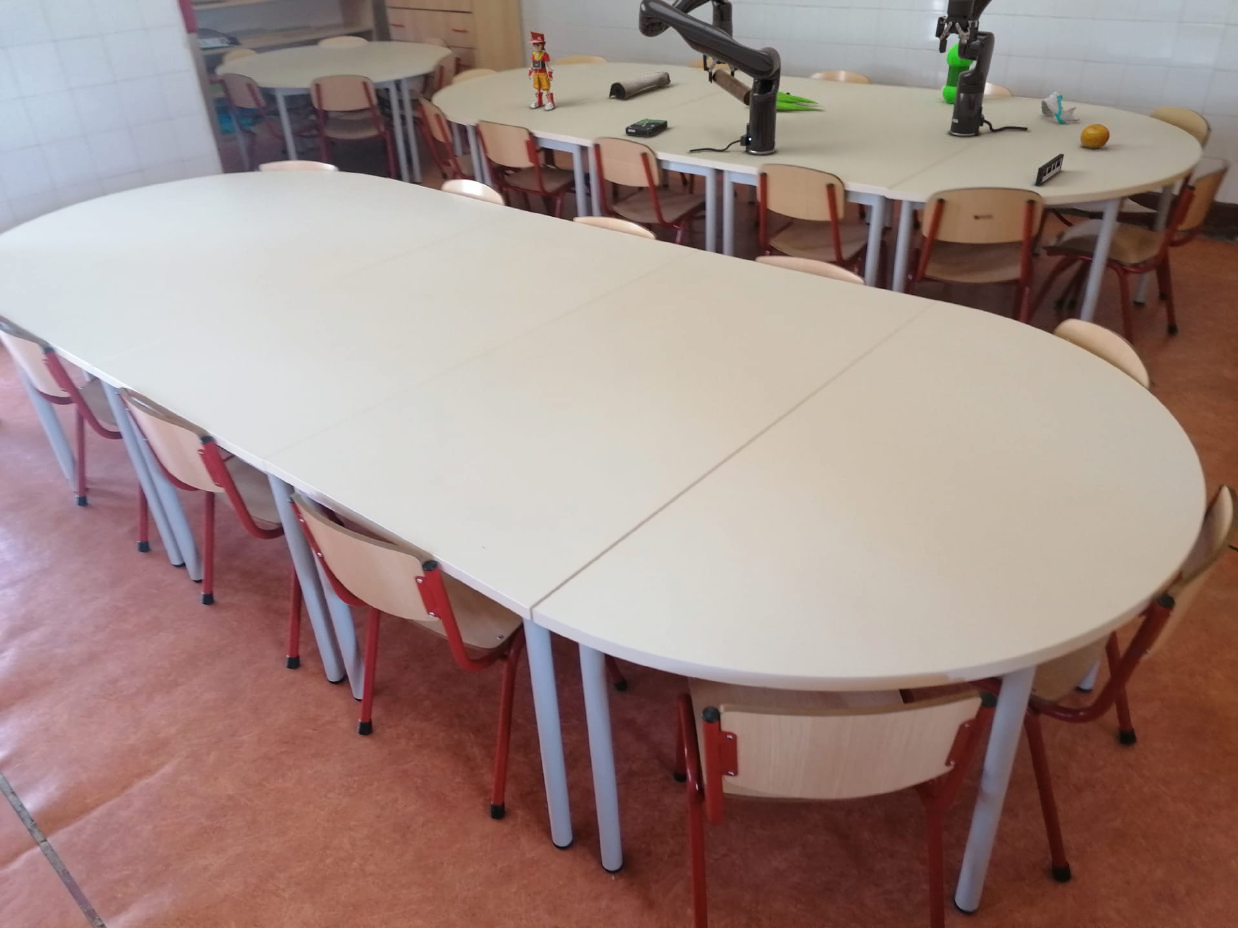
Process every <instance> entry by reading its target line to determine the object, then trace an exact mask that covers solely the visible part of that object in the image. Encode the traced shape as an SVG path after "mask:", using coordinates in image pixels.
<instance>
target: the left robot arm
mask: <svg viewBox="0 0 1238 928" xmlns="http://www.w3.org/2000/svg"><path fill="white" fill-rule="evenodd" d="M710 2H711V7H712V23H708V22H706V21H703V20H702V19H699V18H697V17H694V16H693V15H690V13H691V12H692V11H695V10H696V9H698V8H699V7H702V6H704V5H706V4H707V3H710ZM733 25H734V24H733V3H732V2H731V1H730V0H674V1H673V2H672V4H670V3H668V2H667V1H665V0H641V1H640V4H639V11H638V31H639V32H640V34H641V35H643V36H644V37H647V38H656V37H658V36H661V35H662V34H663V33H664V32H666V31H667V30H668V29H670V28H672V29H674V30H675V32H677V33H678V35H680V37H681V38H682V40H683V41H684V42H685V44H687V46H689V47H690V48H691V49H692V50H693V51H696V53H699V54H702V63H703V64H702V67H703V71H704V72H708V73H707V74H708V82H710V84H713V79H712V76H713V70H714V68H715V66H717V65H727V66H728V67H729V69H730V75H732V76H733V77H735V72H736V71H740V72H742V73H744V74H746V75H748V76H749V77H750V78H752V80H753V81H752V85H751V91H750V105H749V106H748V107H749V109H748V122H747V123H746V124H745V125H746V127H745V129H746V130H745V132H746V133H745V134H743V135H741V136H740V139H737V140H734V141H732V142H730V143H729V144H728V145H727V146H726V147H725V148H722V149H719V148H713V147H701V148H694V149H689V153H695V152H701V151H714V152H719V153H720V152H725V151H727V150H728V149H729V148H730V147H731V146H733V145H735V144H737V143H740V144H739V146H740V147H745V152H746V153H749V154H751V155H757V156H761V155H762V156H765V155H771V154H773V153H775V152H776V146H777V141H776V131H777V110H778V109H777V94H778V92H779V91H780V83H781V71H782V59H781V54H780V53H779V52H778V50H777V49H775V48H774V47H772V46H764V47H762V48H760V49H755V48H752V47H749V46H746V45H744V44H741V43H740V42H739V41H737V40H735V39H734V37H733V35H734V34H733V33H734V26H733ZM709 58H711V60H712V62H711V63H710V65H709V66H708V61H707V60H709Z"/></svg>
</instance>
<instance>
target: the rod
mask: <svg viewBox="0 0 1238 928" xmlns="http://www.w3.org/2000/svg"><path fill="white" fill-rule="evenodd" d="M712 83H714V84H715V85H716V86H718V87H719V88H721V89H722V90H724V91H725V92H727V93H728V94H729V95H731V96H732V97H734V98H735V99H737V100H738V101H739V102H741V103H742V104H743V105H745V106H747V107H749V105H750V91H751V89H752V87H750V86H748V85H747V84H745V83H744V82H742V81H741V80H739V79H738V78H736V77H735V76H734V77H733V76H732V75H731V73H728V72H727V71H725V69H722V68H718V69H716V70H714V72H712Z"/></svg>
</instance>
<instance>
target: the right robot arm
mask: <svg viewBox="0 0 1238 928" xmlns="http://www.w3.org/2000/svg"><path fill="white" fill-rule="evenodd" d="M992 1H993V0H948V1H947V2H948V3H947V9H946V14H947V16H946V15H943V16H939V17H938V18H937V24H936V29H935V34H934V35H935V38H937V39H939V45H938V51H939V53H940V54H945V53H946V52H947V46H948V38H949V37H950V36H951V35H953V34H955V35H960V39H959V38H958V42H957V43H958V57H959V58H960V59H962V60H970V61H973V62H975V65H974V67H972V68H971V69H970V68H969V70H966V71H963V72H961V73H960V74H959V77H958V83H957V90H956V96H955V103H953V110H952V115H951V124H950V129H949V134H950V135H952V136H956V137H973V136H979V131H980V127H984V125H985V124H986V125H987V126H988V129H989V131H990V132H992V133H997V132H1001V131H1005V130H1017V131H1028V129H1029V127H1026V126H1014V125H1007V126H1002V127H999V128H993V124H992V123H991V121H989V120H987V119H985V118H986V117H985V115H984V113H983V109H984V107H983V102H984V96H985V90H986V83H987V79H988V76H989V72H990V67H991V62H992V58H993V54H994V51H995V50H994V49H995V45H996V44H995V43H996V37H995V34H994V32H993V31H986V30H979V27H980V21H979V20H980V19H981V16H982V14H983V13H984V12H985V10H986V8H987V7H988V6H989V4H990V3H991V2H992Z"/></svg>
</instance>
